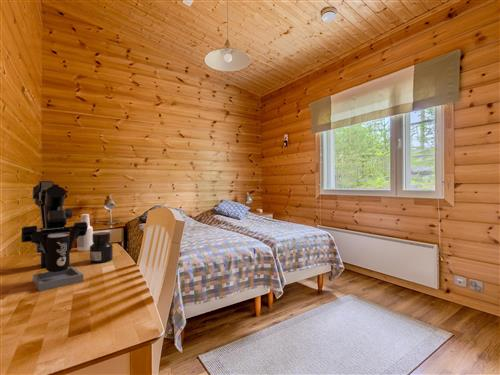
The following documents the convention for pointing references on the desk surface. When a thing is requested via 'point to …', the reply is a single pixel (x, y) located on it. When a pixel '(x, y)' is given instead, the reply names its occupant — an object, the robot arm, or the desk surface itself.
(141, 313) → the desk surface
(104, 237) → the ink bottle
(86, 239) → the spray bottle
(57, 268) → the beverage can
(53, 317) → the desk surface
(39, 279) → the gray rectangular tray
